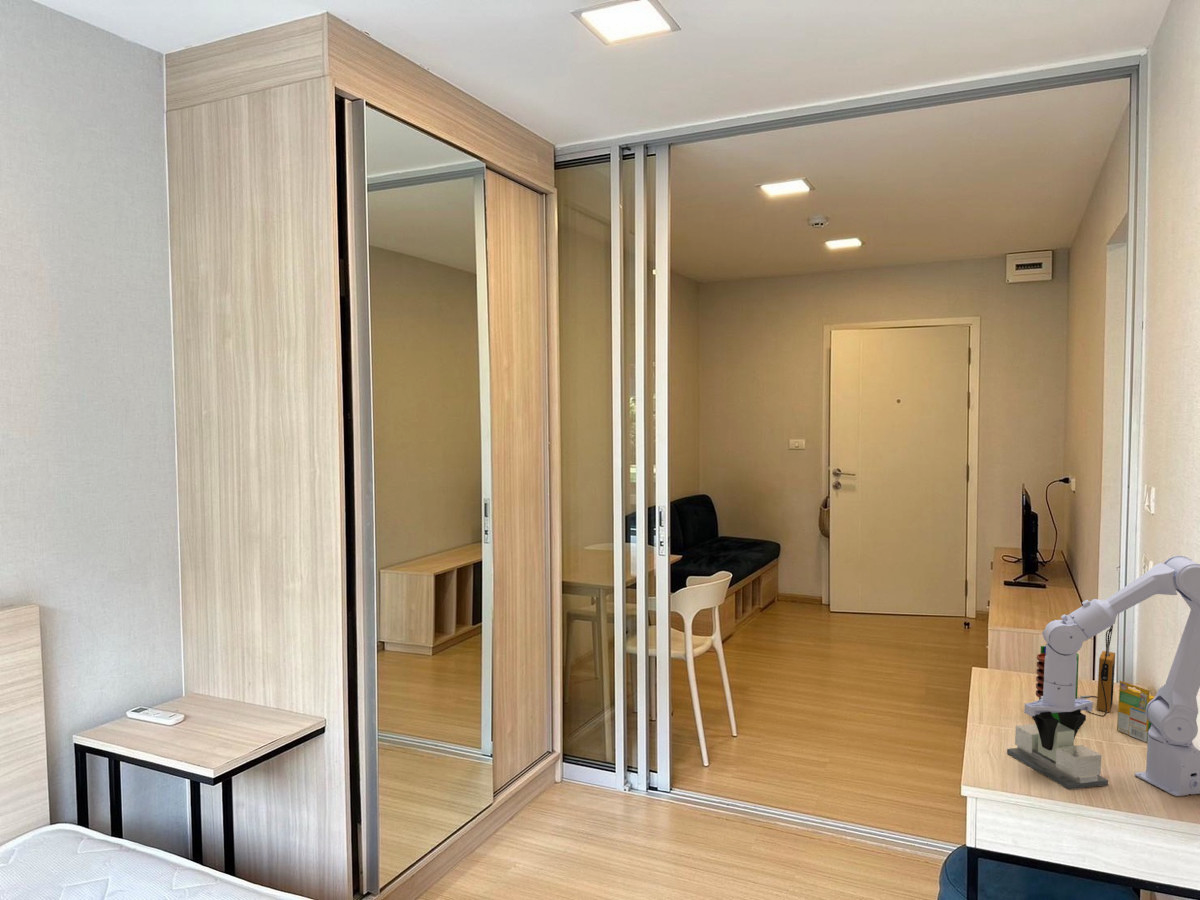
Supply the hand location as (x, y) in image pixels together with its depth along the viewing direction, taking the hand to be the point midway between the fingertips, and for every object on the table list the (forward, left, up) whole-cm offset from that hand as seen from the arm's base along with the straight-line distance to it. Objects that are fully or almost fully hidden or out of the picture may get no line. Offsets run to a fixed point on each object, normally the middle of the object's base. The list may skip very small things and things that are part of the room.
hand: (1056, 747), depth 174 cm
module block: (0, 0, -2) cm, 2 cm away
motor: (+24, -21, -5) cm, 32 cm away
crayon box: (+11, -31, -5) cm, 33 cm away
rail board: (0, 0, -4) cm, 4 cm away
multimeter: (+30, -36, -5) cm, 47 cm away
